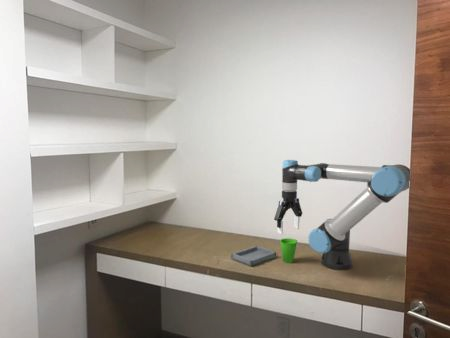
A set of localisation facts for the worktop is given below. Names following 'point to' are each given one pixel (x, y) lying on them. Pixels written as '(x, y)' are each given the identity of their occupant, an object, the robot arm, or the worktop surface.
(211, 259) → the worktop surface
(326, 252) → the robot arm
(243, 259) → the grey tray
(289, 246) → the cup
